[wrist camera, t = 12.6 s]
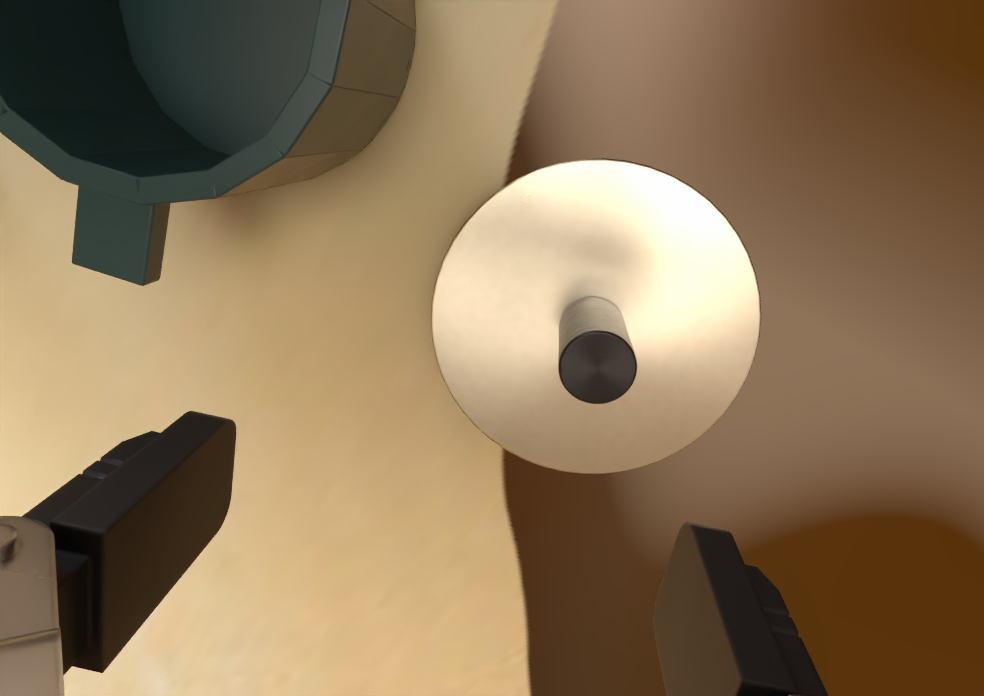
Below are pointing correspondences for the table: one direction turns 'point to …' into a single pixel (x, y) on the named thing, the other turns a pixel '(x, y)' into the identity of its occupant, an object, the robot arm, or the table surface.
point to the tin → (192, 103)
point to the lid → (596, 316)
